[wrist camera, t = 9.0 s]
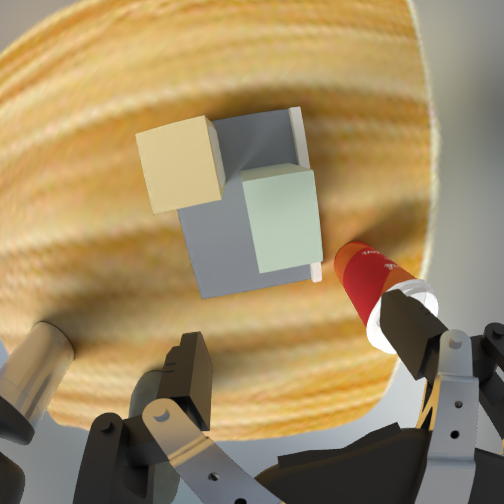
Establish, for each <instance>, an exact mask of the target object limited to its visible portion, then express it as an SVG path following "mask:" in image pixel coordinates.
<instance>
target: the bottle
mask: <svg viewBox="0 0 504 504" xmlns="http://www.w3.org/2000/svg"><path fill="white" fill-rule="evenodd" d="M162 373H163V372H160V371H152V372H148V373H146V374H144V375H143V376H142V377H141V378H140V380H139V381H138V383H137V385H136V387H135V389H134V391H133V393H132V395H131V402H130V408H129V418H131V417H135V416H139V415H141V414H143V411H144V409H145V407H146V406H147V405H148V404H149V403H151V402H152V401H155V400H156V397H157V392H158V388H159V384H160V380H161V376H162ZM179 481H180V475H179V474H178V473H177V472H176V470H175V469H174V468H173V466H172V465H171V464H170V462H169V461H166V462H163V463H159V464H155V474H154V490H153V504H171V503H172V502H173V500H174V498H175V496H176V493H177V489H178V485H179Z"/></svg>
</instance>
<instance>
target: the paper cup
mask: <svg viewBox="0 0 504 504" xmlns="http://www.w3.org/2000/svg"><path fill="white" fill-rule="evenodd" d="M334 269H335V272H336V274H337V276H338V278H339V280H340V282H341V284H342V285H343V287H344V289H345V291H346V293H347V294H348V296H349V298H350V300H351V301H352V303H353V305H354V307H355V309H356V310H357V312H358V314H359V316H360V318H361V319H362V321H363V323H364V325H365V327H366V329H367V337H368V339H369V341H370V343H371V344H372V345H373V346H374V347H376V348H378V349H381V350H382V351H384V352H386V353H390V354H396V351H395V350H394V348H393V347H392V346H391V344H390V343H389V341H388V340H387V339H386V337H385V336H384V334H383V333H382V331H381V328H380V323H379V319H380V308H381V296H382V293H383V292H387V291H390V290H394V289H397V288H398V289H400V290H401V291H402V292H403V293H404V294H405V295H406V296H407V297H408V296H411V297H413V298H415V299H417V300H419V301H420V302H421V303H422V304H423V305H424V306H425V307H426V308H428V309H429V310H430V311H431V313H433V314H434V315H435V316H436V317H437V315H438V301H437V299H436V297H435V293H434V290H433V288H432V286H431V285H430V284H429V283H428V282H426V281H424V280H421V279H417V278H415V277H414V276H413V275H411V274H410V273H408V272H407V271H406V270H404V269H403V268H401V267H400V266H399V265H397V264H396V263H394V262H393V261H392V260H390V259H389V258H387V257H386V256H384V255H383V254H381V253H380V252H378V251H377V250H375V249H374V248H372V247H371V246H369V245H367V244H365V243H363V242H360V241H353V242H350V243H348V244H346V245H344V246H343V247H342V248H341V249H340V250H339V251H338V253H337V255H336V257H335V260H334Z"/></svg>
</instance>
